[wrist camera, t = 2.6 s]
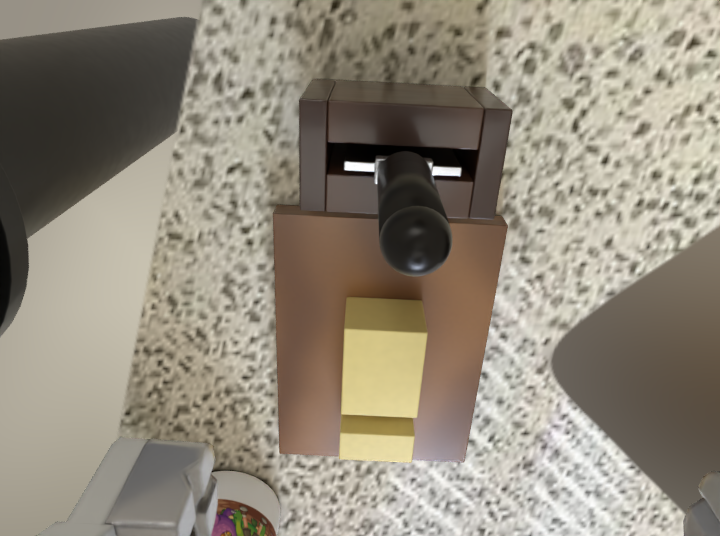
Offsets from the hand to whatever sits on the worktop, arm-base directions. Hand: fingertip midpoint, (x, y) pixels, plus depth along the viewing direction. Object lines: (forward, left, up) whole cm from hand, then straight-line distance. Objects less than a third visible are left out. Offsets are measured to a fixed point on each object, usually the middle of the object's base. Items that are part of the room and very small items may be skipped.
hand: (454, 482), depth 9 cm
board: (0, -13, -23) cm, 26 cm away
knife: (0, +1, -23) cm, 23 cm away
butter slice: (0, -17, -21) cm, 28 cm away
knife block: (0, +1, -23) cm, 23 cm away
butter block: (0, -12, -21) cm, 24 cm away
